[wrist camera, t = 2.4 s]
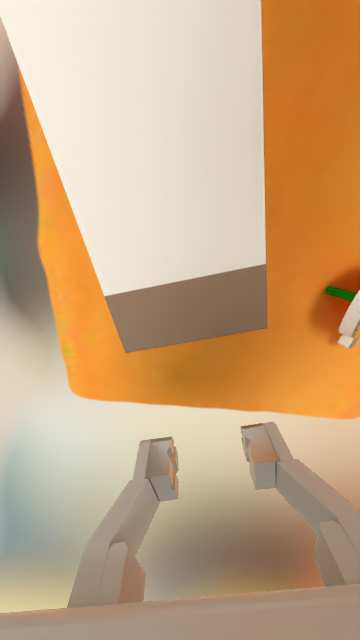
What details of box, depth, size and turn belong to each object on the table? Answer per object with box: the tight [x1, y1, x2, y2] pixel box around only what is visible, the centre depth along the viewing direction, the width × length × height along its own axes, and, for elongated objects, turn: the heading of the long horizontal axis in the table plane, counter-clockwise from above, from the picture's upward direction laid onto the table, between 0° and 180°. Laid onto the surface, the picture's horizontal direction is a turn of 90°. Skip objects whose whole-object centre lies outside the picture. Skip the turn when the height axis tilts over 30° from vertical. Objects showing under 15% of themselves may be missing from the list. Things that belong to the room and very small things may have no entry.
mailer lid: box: [0, 0, 267, 353], centre depth 19 cm, size 30×17×3 cm, turn 11°
